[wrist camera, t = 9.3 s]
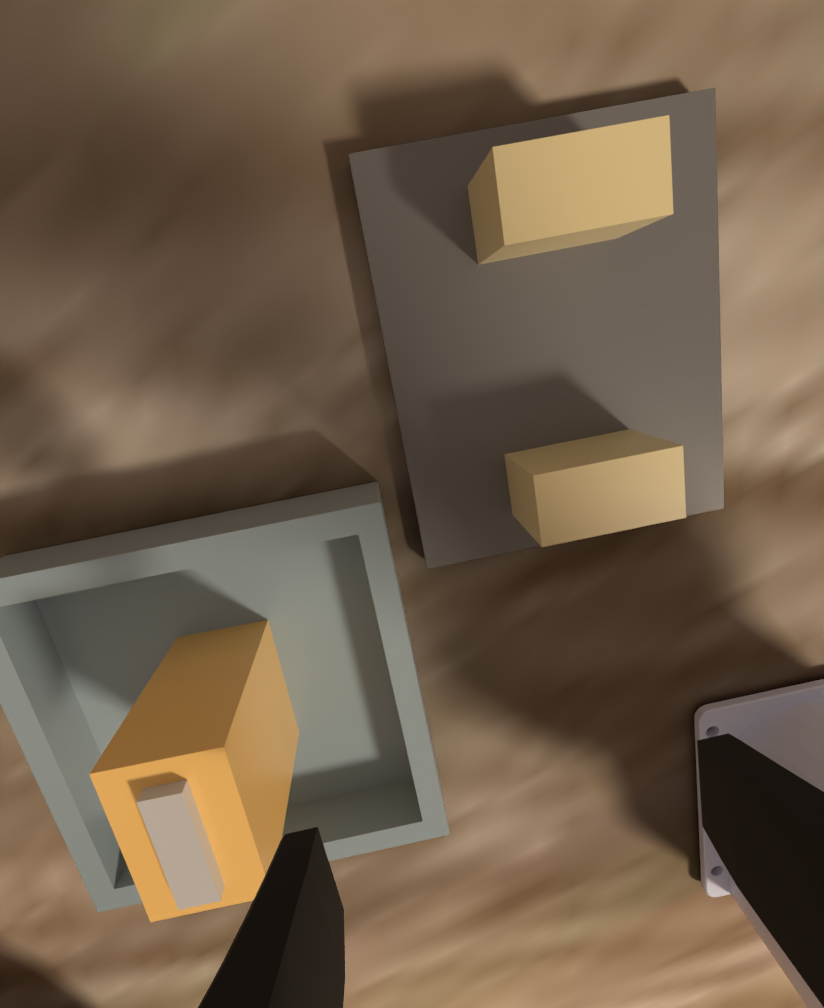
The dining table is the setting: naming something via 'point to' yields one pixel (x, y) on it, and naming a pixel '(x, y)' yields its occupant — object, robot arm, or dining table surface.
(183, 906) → the block
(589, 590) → the dining table surface
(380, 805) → the parts tray
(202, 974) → the dining table surface
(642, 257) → the panel
